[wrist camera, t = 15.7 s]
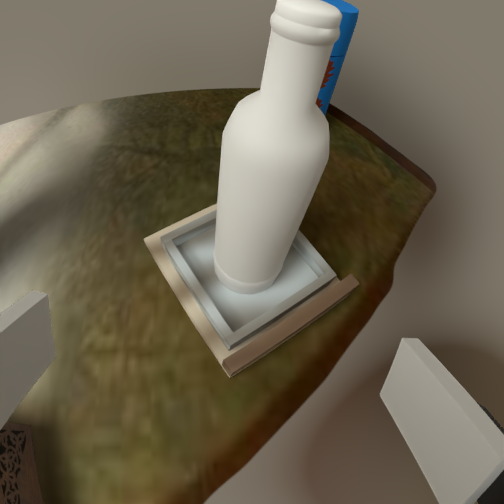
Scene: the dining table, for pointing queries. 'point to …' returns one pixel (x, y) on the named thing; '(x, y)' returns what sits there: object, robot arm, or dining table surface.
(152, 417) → the dining table surface
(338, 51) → the thermos
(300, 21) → the bottle
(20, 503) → the tissue box cover
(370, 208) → the dining table surface
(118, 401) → the dining table surface
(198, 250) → the tray
